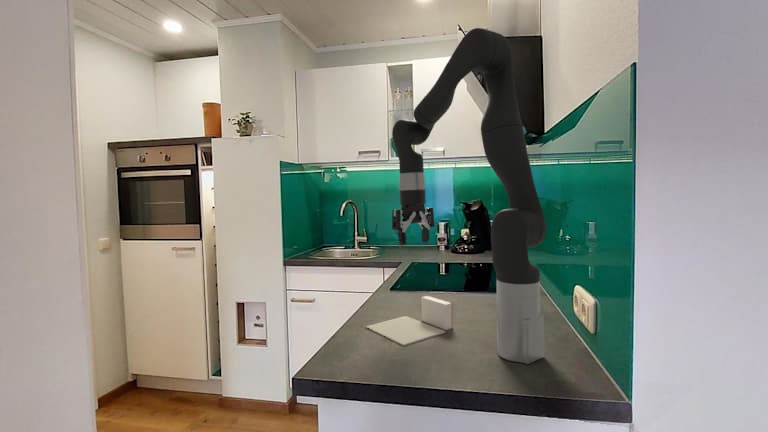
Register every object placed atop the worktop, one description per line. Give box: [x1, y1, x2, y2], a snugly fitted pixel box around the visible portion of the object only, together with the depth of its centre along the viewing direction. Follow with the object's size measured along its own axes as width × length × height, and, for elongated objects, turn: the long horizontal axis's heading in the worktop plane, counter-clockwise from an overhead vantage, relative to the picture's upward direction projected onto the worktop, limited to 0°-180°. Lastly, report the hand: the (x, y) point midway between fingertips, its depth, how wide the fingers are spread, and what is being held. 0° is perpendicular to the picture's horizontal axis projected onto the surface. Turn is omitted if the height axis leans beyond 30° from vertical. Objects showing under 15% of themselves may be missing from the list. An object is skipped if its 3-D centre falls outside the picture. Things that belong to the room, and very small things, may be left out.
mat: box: [365, 315, 446, 347], centre depth 109 cm, size 17×14×1 cm
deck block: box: [420, 295, 454, 331], centre depth 113 cm, size 10×2×7 cm, turn 35°
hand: (414, 243), depth 119 cm, fingers open, 8 cm apart
